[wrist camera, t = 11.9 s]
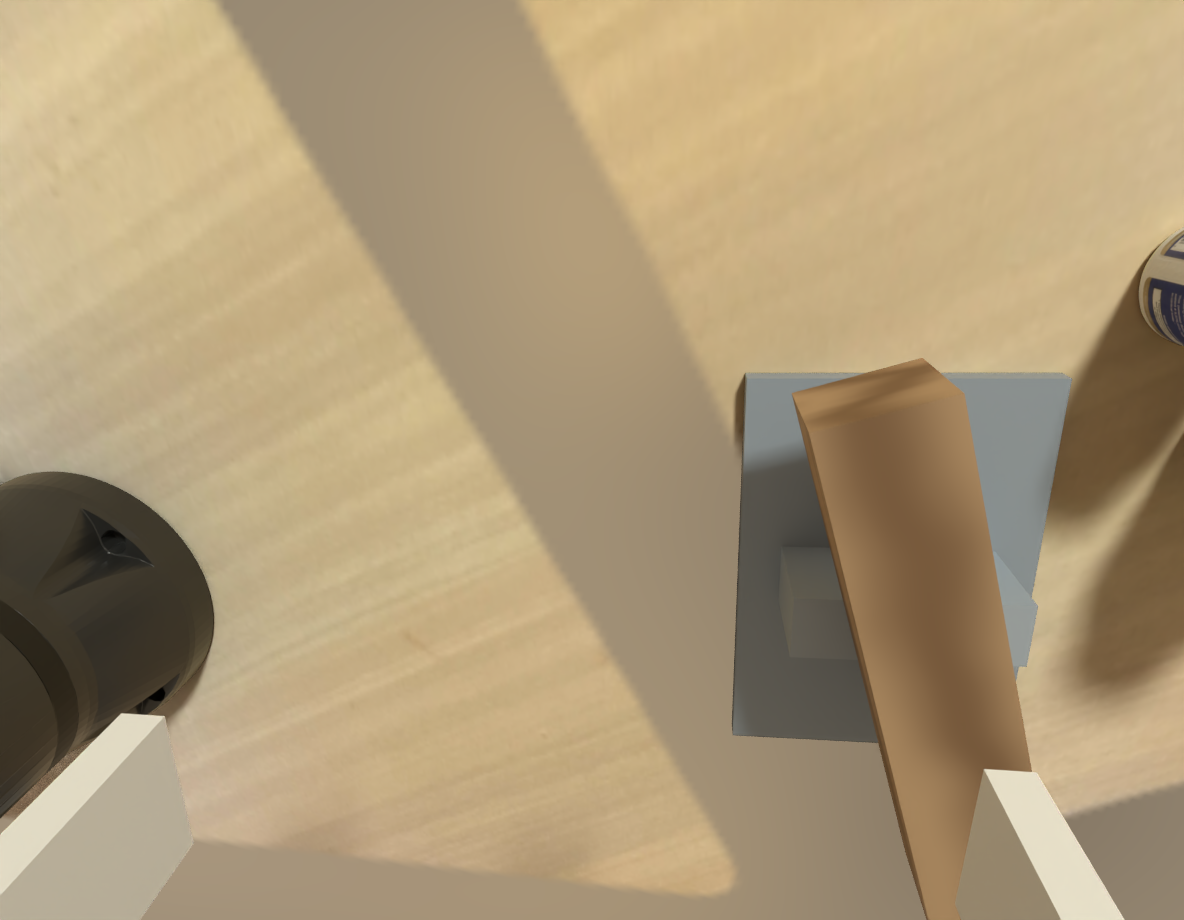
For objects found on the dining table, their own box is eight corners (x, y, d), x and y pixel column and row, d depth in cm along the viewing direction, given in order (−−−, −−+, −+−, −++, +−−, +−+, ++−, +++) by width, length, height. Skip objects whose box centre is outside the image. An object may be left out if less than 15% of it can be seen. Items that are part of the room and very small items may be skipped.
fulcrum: (731, 723, 44) (737, 804, 39) (745, 372, 37) (755, 410, 32) (996, 736, 43) (1042, 823, 37) (1062, 372, 36) (1130, 411, 30)
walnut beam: (905, 852, 39) (935, 946, 34) (791, 393, 31) (809, 433, 27) (1014, 836, 38) (1060, 932, 33) (922, 357, 30) (964, 393, 26)
